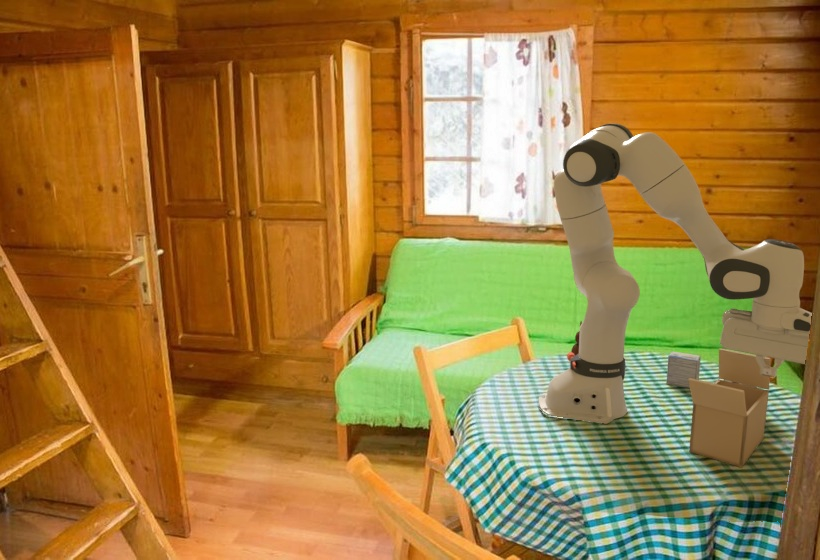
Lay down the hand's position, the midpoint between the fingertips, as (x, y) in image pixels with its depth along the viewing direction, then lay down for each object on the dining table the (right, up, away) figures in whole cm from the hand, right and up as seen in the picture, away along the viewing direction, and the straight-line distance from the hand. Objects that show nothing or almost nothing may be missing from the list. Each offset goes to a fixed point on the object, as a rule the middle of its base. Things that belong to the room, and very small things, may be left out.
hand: (767, 375), depth 143 cm
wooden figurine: (-26, -6, +55) cm, 61 cm away
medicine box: (-2, -9, +41) cm, 42 cm away
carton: (-6, -17, +6) cm, 19 cm away
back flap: (-2, 0, +7) cm, 7 cm away
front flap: (-14, -4, -6) cm, 15 cm away
